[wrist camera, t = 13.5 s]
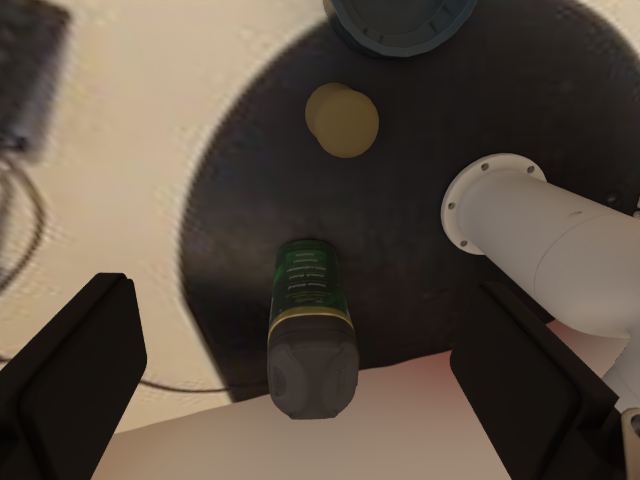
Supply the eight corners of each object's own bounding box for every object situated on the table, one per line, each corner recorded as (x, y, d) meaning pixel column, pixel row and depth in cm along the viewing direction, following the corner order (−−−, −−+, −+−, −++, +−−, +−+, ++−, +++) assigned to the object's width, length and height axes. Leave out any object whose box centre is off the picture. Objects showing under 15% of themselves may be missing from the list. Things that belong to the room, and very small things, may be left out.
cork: (293, 116, 36) (293, 130, 26) (332, 68, 34) (349, 64, 24) (334, 155, 38) (349, 182, 28) (374, 111, 36) (404, 124, 26)
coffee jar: (272, 237, 42) (260, 344, 25) (337, 236, 42) (368, 340, 25) (276, 303, 46) (267, 434, 29) (335, 301, 46) (360, 428, 30)
